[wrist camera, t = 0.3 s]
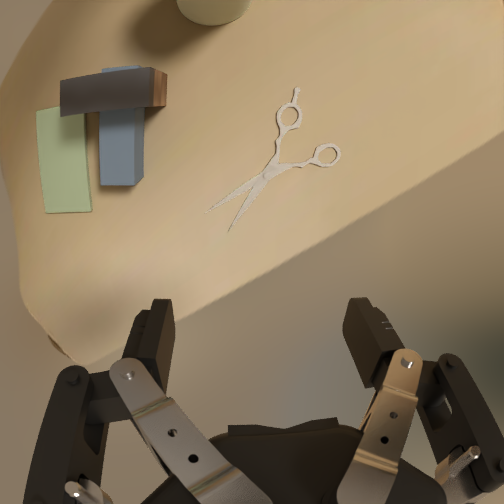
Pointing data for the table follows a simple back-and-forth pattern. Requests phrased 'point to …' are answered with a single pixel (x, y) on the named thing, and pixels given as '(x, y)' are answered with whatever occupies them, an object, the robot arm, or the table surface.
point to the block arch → (113, 91)
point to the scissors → (276, 162)
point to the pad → (63, 161)
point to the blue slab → (121, 143)
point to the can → (213, 10)
